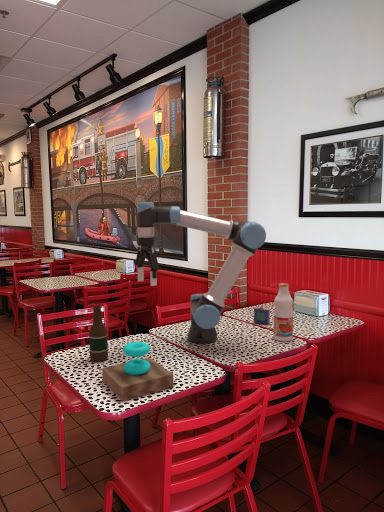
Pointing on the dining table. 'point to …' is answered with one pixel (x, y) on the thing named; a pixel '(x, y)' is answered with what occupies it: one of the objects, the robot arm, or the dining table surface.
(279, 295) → the fruit juice
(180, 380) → the dining table surface
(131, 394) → the walnut stand
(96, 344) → the beer bottle
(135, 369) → the donuts
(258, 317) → the flask
